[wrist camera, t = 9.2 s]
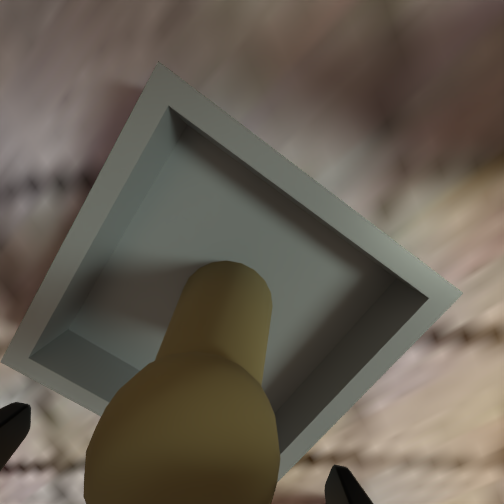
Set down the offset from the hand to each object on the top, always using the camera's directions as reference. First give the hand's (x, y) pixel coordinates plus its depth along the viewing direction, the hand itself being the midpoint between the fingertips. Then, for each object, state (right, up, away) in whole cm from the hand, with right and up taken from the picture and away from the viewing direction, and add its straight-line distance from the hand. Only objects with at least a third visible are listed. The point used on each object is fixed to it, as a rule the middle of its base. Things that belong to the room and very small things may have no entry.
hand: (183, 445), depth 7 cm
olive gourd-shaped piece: (0, +2, +9) cm, 9 cm away
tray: (0, +2, +10) cm, 10 cm away
